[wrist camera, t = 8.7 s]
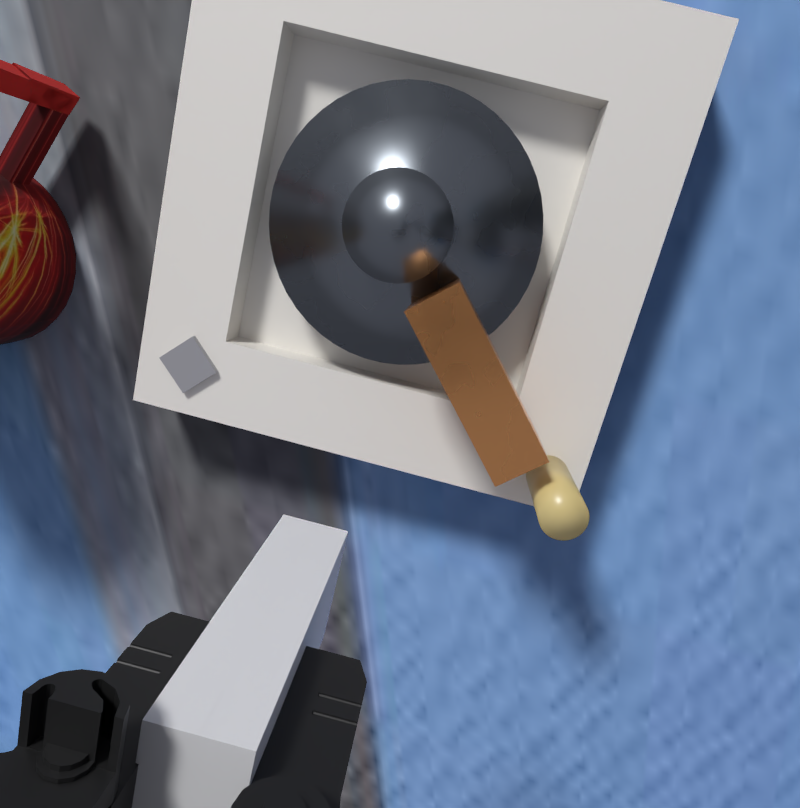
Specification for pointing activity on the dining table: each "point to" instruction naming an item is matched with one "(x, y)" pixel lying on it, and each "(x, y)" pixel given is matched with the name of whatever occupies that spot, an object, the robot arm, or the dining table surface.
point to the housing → (561, 200)
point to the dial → (416, 245)
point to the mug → (32, 210)
